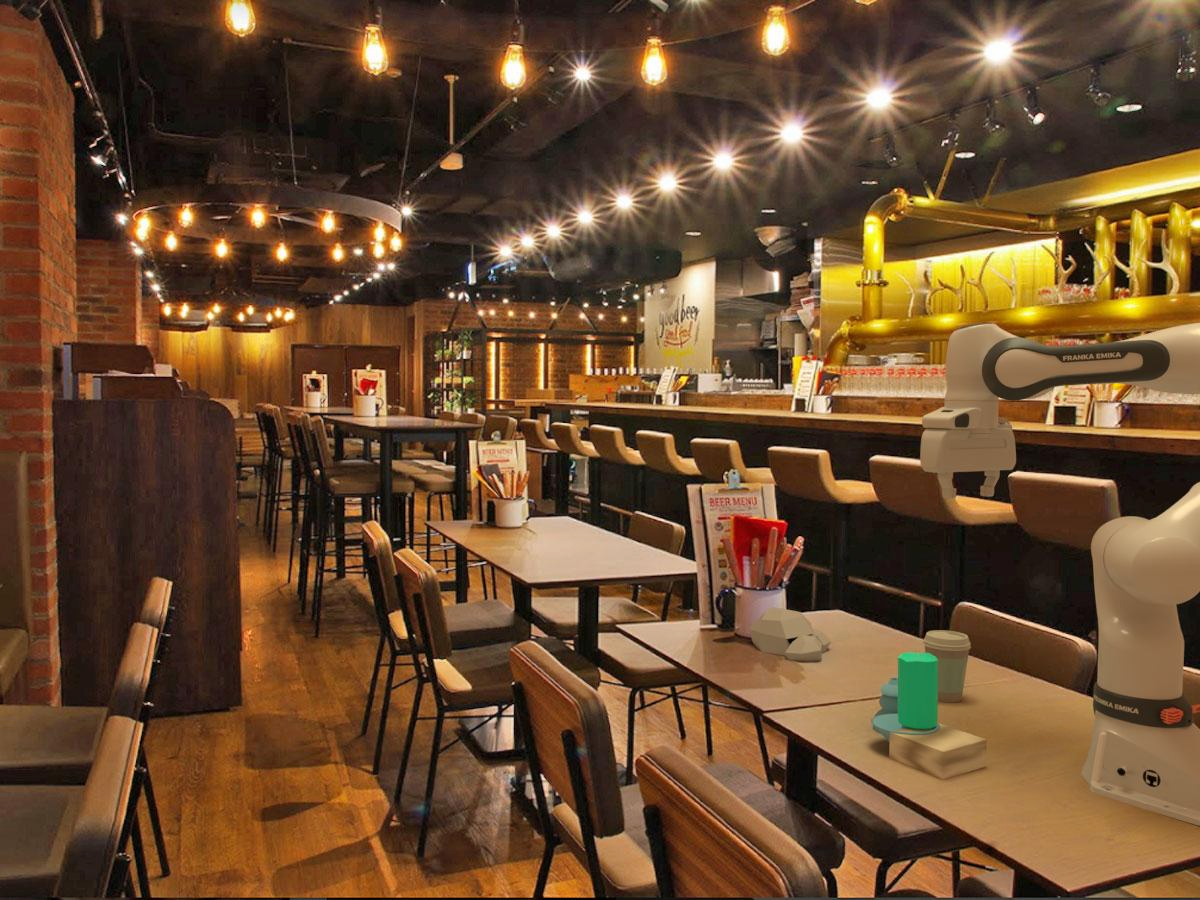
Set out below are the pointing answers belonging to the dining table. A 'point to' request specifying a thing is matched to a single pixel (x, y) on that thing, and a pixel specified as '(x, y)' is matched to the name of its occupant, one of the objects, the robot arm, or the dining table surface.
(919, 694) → the candle
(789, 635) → the rock
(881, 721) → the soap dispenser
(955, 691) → the coffee cup
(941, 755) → the beech box
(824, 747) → the dining table surface
